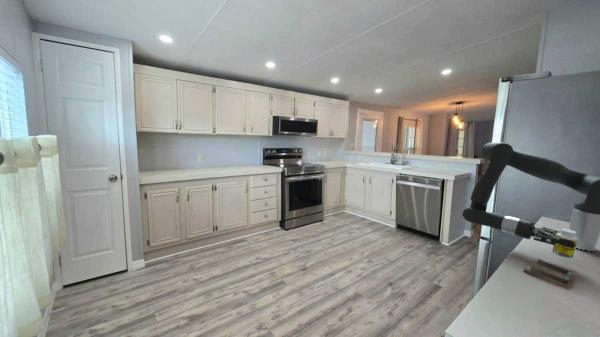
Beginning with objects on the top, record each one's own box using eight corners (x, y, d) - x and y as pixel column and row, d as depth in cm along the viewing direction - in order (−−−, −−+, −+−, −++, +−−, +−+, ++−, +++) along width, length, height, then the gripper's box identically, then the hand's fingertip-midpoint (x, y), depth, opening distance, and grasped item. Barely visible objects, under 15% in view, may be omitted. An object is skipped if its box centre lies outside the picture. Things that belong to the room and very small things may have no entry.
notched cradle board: (532, 262, 93) (533, 256, 93) (574, 277, 84) (575, 271, 84) (523, 271, 87) (524, 265, 86) (567, 289, 78) (569, 282, 77)
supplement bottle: (558, 257, 90) (564, 232, 89) (548, 250, 96) (554, 226, 94) (577, 260, 89) (584, 235, 87) (565, 253, 94) (572, 228, 92)
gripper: (513, 222, 98) (575, 238, 84) (523, 215, 106) (581, 230, 92) (510, 239, 99) (570, 258, 86) (520, 231, 107) (576, 247, 94)
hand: (575, 243), depth 89 cm, fingers closed on supplement bottle, 5 cm apart
